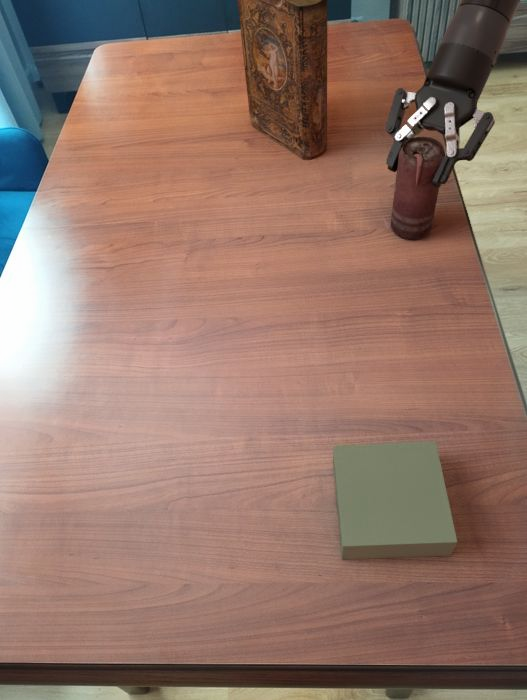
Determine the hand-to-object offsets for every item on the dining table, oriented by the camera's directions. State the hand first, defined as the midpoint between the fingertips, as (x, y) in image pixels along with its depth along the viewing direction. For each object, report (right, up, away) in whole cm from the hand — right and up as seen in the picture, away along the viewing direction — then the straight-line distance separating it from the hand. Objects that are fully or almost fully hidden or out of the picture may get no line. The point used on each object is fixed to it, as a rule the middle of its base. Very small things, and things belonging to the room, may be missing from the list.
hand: (413, 177), depth 80 cm
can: (+2, -5, +9) cm, 11 cm away
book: (-16, +15, +27) cm, 34 cm away
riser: (-7, -41, -17) cm, 45 cm away
